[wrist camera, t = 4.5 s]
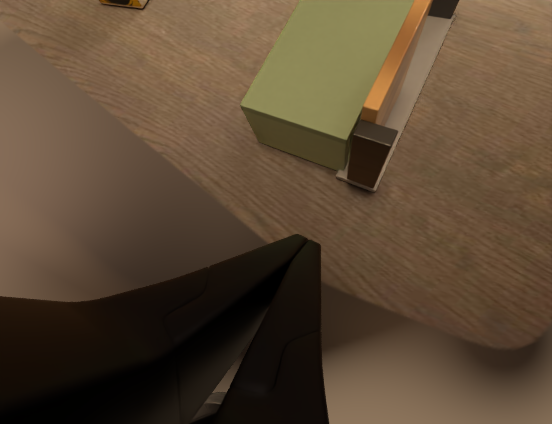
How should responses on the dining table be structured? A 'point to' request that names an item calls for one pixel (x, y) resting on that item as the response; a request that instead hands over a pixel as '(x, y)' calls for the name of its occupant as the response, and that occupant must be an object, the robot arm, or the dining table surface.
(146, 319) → the robot arm
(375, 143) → the sliding door
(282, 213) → the dining table surface
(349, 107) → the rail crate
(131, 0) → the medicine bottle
